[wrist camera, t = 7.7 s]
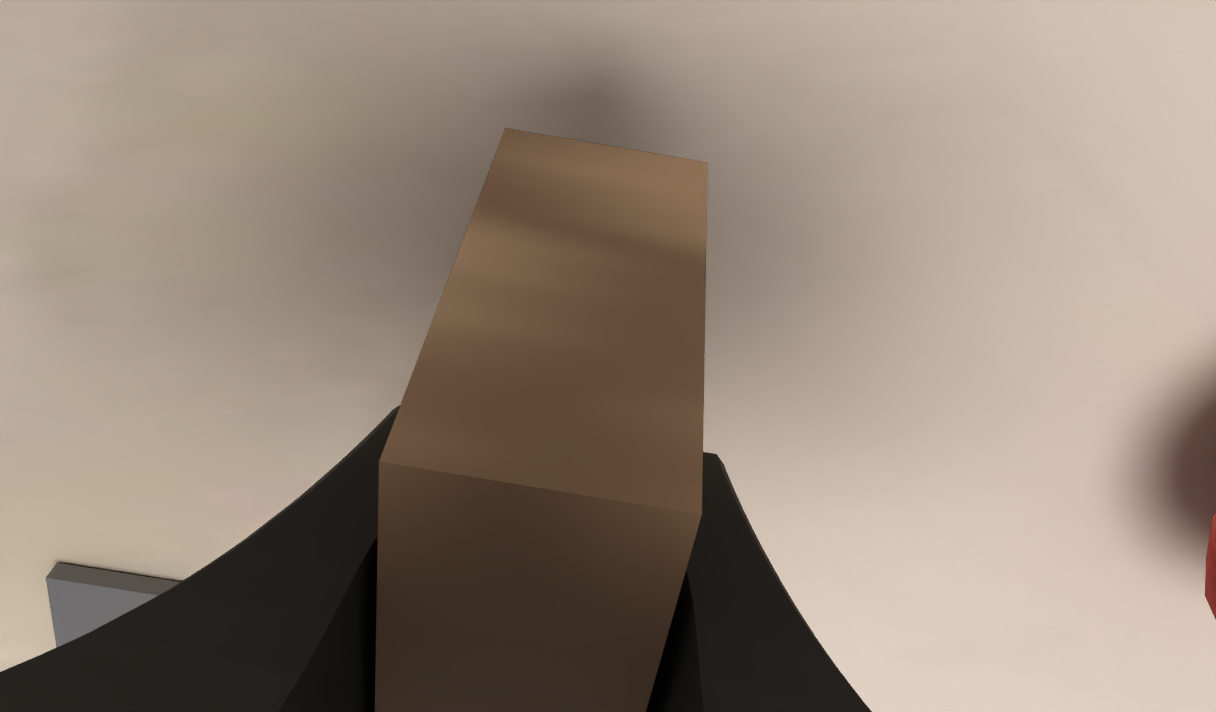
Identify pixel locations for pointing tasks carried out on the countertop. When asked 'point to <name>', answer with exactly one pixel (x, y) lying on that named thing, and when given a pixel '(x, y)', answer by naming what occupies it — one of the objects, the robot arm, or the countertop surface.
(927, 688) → the countertop surface
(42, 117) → the countertop surface
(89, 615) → the mat
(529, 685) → the wooden plank piece
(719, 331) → the countertop surface
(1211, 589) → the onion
